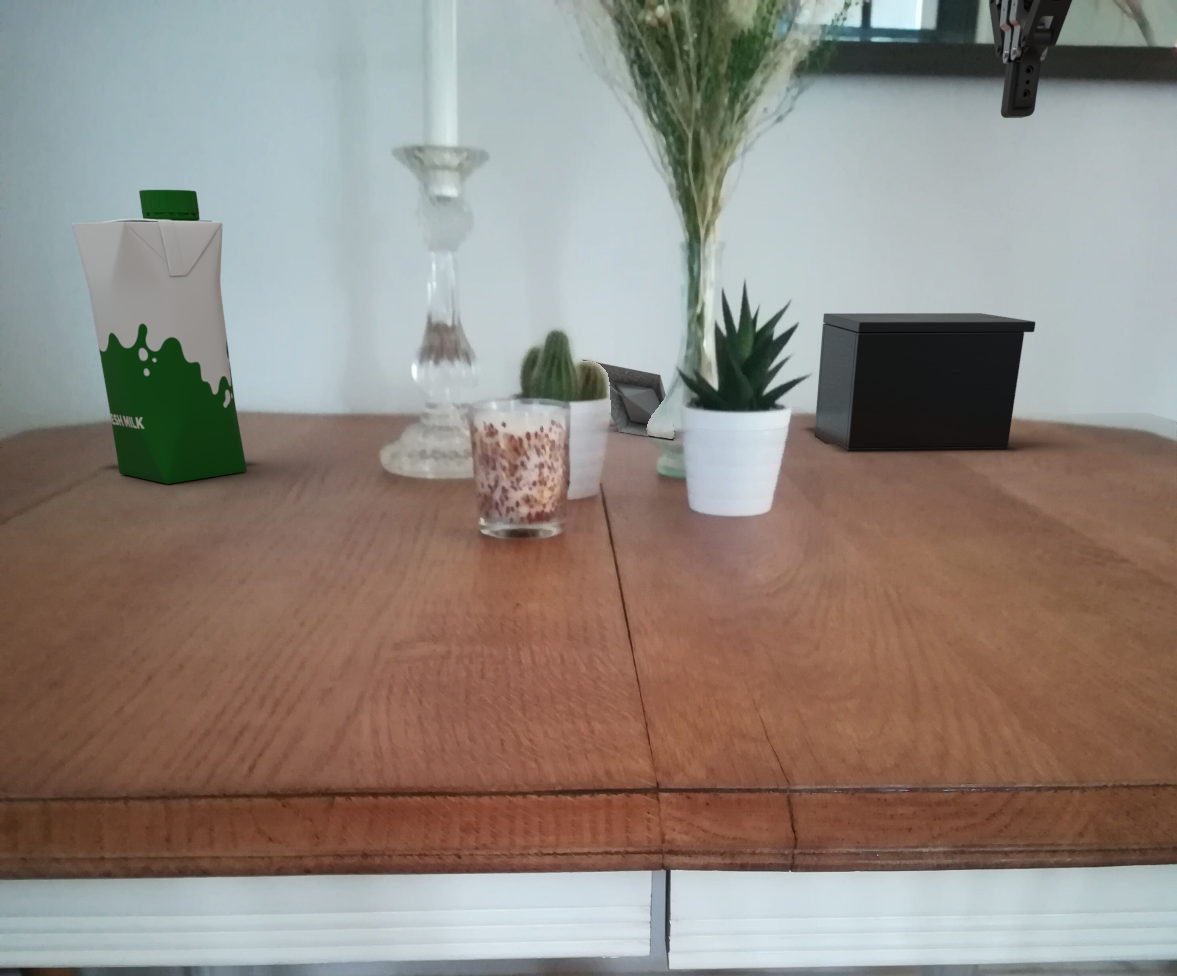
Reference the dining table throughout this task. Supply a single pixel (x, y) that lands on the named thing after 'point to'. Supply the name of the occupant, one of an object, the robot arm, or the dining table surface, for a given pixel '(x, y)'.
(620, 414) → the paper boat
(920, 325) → the box lid
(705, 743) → the dining table surface
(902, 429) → the black box
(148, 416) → the milk carton
